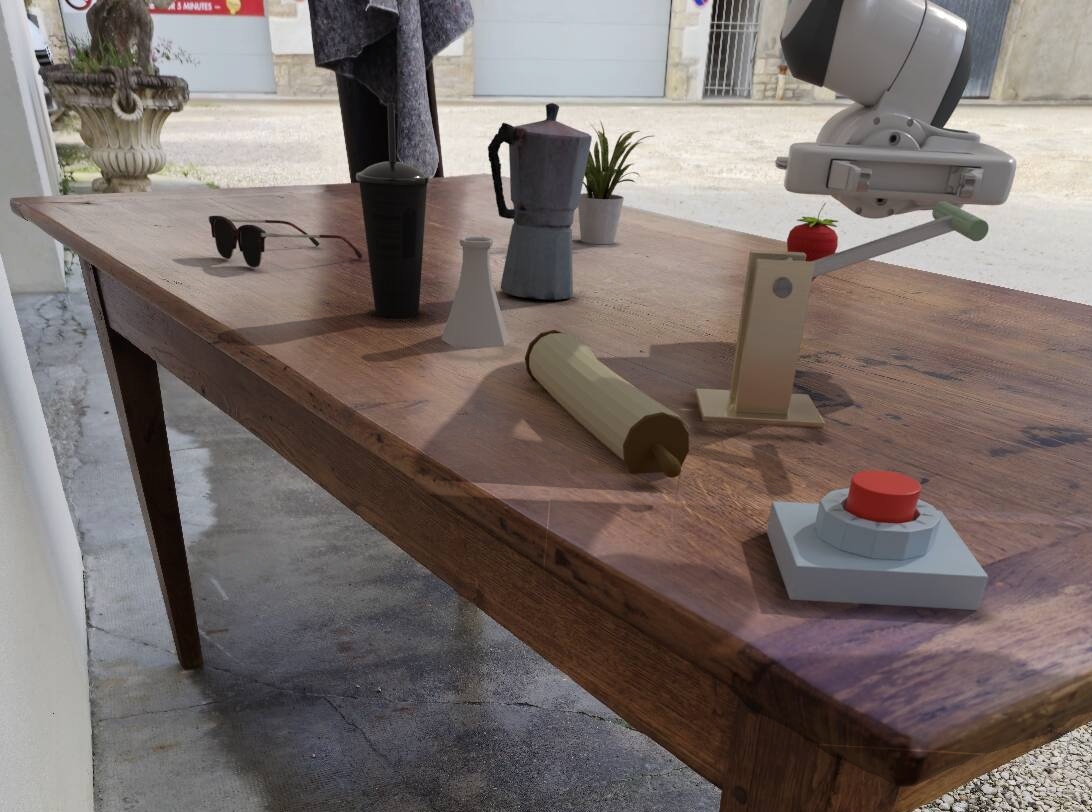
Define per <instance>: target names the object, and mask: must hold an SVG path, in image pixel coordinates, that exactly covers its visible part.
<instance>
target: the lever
mask: <svg viewBox="0 0 1092 812" xmlns="http://www.w3.org/2000/svg"><path fill="white" fill-rule="evenodd" d="M931 213H932V218H933V220H930V221H927V222H925V223H921V224H919V225H916V226H913V227H910V228H907V229H904V230H901V231H898V232H895V233H892V234H889V235H886V236H883V237H880V238H877V239H874V240H870V241H868V242H866V243H862V244H860V245H856V246H854V247H850V248H847V249H844V250H841V251H838V252H835V253H834V254H832V255H830V256H827V257H824V258H821V259H818V260H815V261H812V262H813V263H814V264H815V267H814V273H813V278H814V277H816V278H818V277H820V276H823V275H826V274H828V273H831V272H835V271H838V270H841V269H844V268H846V267H849V266H852V265H856V264H859V263H862V262H865V261H868V260H870V259H873V258H876V257H879V256H883V255H885V254H889V253H891V252H894V251H898V250H900V249H903V248H906V247H909V246H913V245H916V244H918V243H920V242H925V241H927V240H930V239H933V238H937V237H939V236H942V235H945V234H947V233H951V232H956V233H958V234H960V235H962V236H963V237H965V238H967V239H969V240H970V241H973V242H980V241H982V240H984V239H985V238H986V236H987V235H988V233H989V230H990V229H989V227H990V226H989V223H988V222H987V221H986V220H984V219H983V218H981V217H978V216H977V215H975V214H973V213H970V212H969V211H966V210H964V209H962V208H958V207H956V206H954V205H952V204H950V203H948V202H946V201H941V202H939V203H937V204H936V205H935V206H934V208H933V210H931ZM784 260H787V261H793V260H792V259H791V258H787V259H784Z"/></svg>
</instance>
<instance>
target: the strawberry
mask: <svg viewBox="0 0 1092 812" xmlns="http://www.w3.org/2000/svg"><path fill="white" fill-rule="evenodd" d="M826 204H827V203H826V202H824V204H823V206H822V207H821V208H820V211H819V212H818V215H817V217H816V216H815V217H814V216H813V217H812V216H801V218H798V219H796V221H797V222H803V223H802V224H798V225H795V226H794V227H792V229H790V231H789V233H788V236H787V239H786V246H787V247H786V248H787V252H800V253H805V254H806V260H805V261H806V262H812V261H815V260H818V259H821V258H824V257H827V256H830V255H832V254H835V253H836V251H837V249H838V246H839V245H838V244H839V238H838V234H837V233H836V231H835V229H833V228H837V227H838V226H837V225H836V224H834V223H839V220H836V219H830V218H825V219H820V214H821V212H822V210H823V209H824V207H825V206H826ZM831 227H833V228H831ZM815 279H817V277H814V278H812V282H813V281H814V280H815Z"/></svg>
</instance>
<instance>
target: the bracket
mask: <svg viewBox="0 0 1092 812" xmlns="http://www.w3.org/2000/svg"><path fill="white" fill-rule="evenodd" d="M787 258H791V259H792V260H793V261H787V260H784V259H787ZM805 260H806V254H805V253H800V252H788V251H781V250H780V251H778V250H760V249H759V250H757V249H750V250H749V255H748V261H747V262H748V263H747V270H746V278H745V283H744V290H743V296H742V304H741V310H740V311H741V312H740V318H739V323H738V324H739V325H738V331H737V338H736V343H735V344H736V345H735V350H734V351H735V352H734V359H733V365H732V372H731V378H730V379H731V380H730V386H729V389H715V388H714V389H713V388H695V392H694V395H695V399H696V402H697V406H698V410H699V413H700V416H701V419H702V422H711V423H712V422H713V423H729V424H748V425H766V426H786V427H804V428H806V427H807V428H821V429H822V428H823V429H824V427H825V423H826V422H825V421H824V419H823V417H822V415H821V414H820V412H819V410H818V409H817V407H816V406H815V403H814V402H813V400H812V398H811V397H810V395H809V394H807V393H793V389H794V384H795V376H796V372H797V367H798V360H799V355H800V351H801V345H802V338H803V332H804V327H805V322H806V317H807V312H808V311H807V310H808V307H809V306H808V305H809V301H810V300H809V299H810V295H811V289H812V283H813V281H812V278H813V273H814V267H815V264H814V263H813V262H806V261H805Z"/></svg>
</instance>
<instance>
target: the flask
mask: <svg viewBox="0 0 1092 812" xmlns="http://www.w3.org/2000/svg"><path fill="white" fill-rule="evenodd" d="M493 243H494V239H493V238H490V237H487V236H475V235H473V236H462V237H461V238H460V239H459V245H460V247H461V248H462V264H461V269H460V277H459V283H458V286H457V289H456V291H455V292H456V293H455V296H454V298H453V303H452V305H451V308H450V312H449V315H448V318H447V320H446V324H445V327H444V330H443V333H442V336H441V340H442V341H443V342H445V343H446V344H448V345H450V346H451V347H459V348H470V349H487V348H498V347H499V348H500V347H505V346H506V345H507V343H509V341H510V336H509V333H508V331H507V328H506V327H507V326H506V324H505V321H504V317H503V315H502V311H501V308H500V304H499V301H498V297H497V293H496V289H495V286H494V283H493V276H492V270H491V269H492V268H491V261H490V259H491V256H490V254H491V252H490V251H491V247H492V246H493Z"/></svg>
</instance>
